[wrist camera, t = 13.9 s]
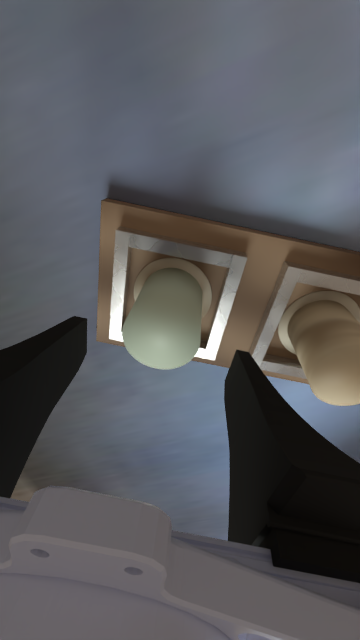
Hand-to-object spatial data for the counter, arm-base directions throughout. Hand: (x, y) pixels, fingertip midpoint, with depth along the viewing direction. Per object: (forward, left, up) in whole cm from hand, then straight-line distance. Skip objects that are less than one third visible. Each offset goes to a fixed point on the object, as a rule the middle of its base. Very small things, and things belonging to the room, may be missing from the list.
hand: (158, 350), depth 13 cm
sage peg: (0, 0, -6) cm, 6 cm away
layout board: (0, -5, -7) cm, 9 cm away
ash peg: (0, -10, -6) cm, 12 cm away
